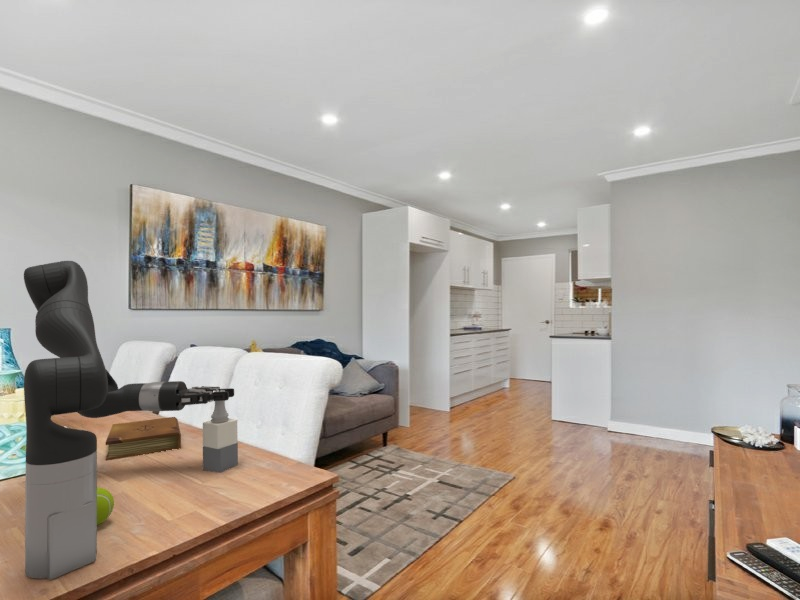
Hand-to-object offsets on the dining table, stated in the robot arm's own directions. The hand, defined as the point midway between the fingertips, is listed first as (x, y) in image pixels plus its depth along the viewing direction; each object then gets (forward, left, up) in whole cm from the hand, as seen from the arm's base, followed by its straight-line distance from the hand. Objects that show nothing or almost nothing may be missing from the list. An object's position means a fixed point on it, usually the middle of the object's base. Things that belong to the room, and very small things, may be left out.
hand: (230, 394), depth 114 cm
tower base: (+2, +2, -19) cm, 19 cm away
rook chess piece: (+2, +2, -7) cm, 8 cm away
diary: (+41, +2, -20) cm, 46 cm away
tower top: (+2, +2, -13) cm, 13 cm away
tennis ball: (-5, +34, -19) cm, 39 cm away
